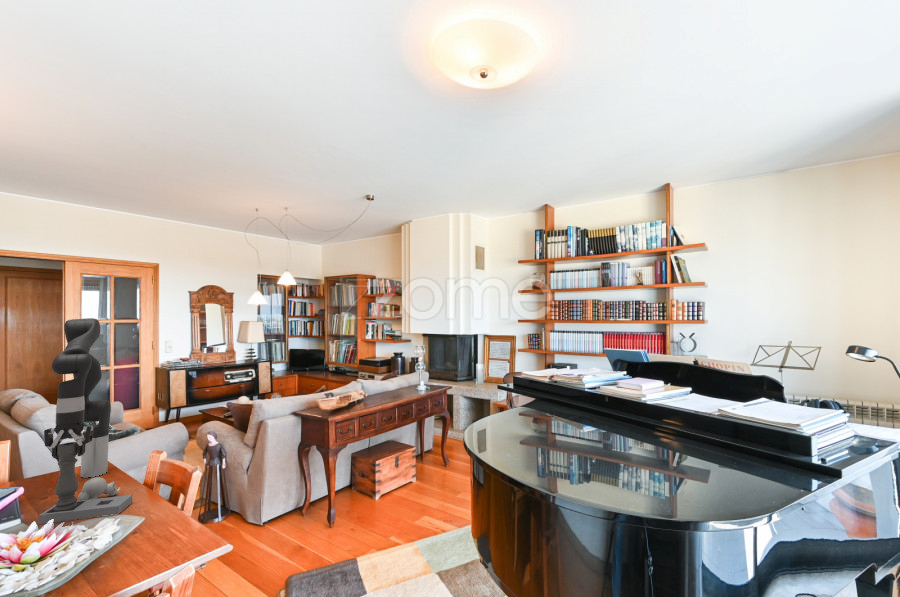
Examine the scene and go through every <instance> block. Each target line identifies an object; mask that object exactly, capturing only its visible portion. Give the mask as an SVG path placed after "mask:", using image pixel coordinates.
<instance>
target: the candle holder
mask: <svg viewBox="0 0 900 597" xmlns="http://www.w3.org/2000/svg"><path fill="white" fill-rule="evenodd" d="M78 446H79V445H78V443H77V442H76V441H69V442H64V443H60V445H58V446H57V455H58V458H59V461H58V462H57V465H58V466H59V477H58V480H57V483H56V485H55V489H54V493H55V495H56V497H57V498H58V500H57V501H56V502H55V504H54V505H56V506H57V507H55V508H54V512H62V511H71V510H74V509H75V508H77V507H78V503H77V502H76V501H78V498H77V497H76V496H75V495H76V492H77V490H78V489H79V487H80V486H79V483H78V482H79V481H78V480H77V475H76V463H77V462H78V458H76V457H77V456H78Z"/></svg>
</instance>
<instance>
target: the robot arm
mask: <svg viewBox="0 0 900 597" xmlns="http://www.w3.org/2000/svg"><path fill="white" fill-rule="evenodd" d="M63 328H64V329H63V330H64V335H65V339H66V343H67V344H66V346H65V348H64V350H63V351H61V352H60V353H59V354H58V355H56V356H55V357H54V358H53V360H52V363H51V370H52V371H53V373H54V374H58V375H72V377H73V378H72V379H68V380H64V381H63V380H62V381H60V382H59V383H58V387H57V402H56V406H55V427H53V428H52V427H49V428H47V429H45V430H44V431H43V435H44V437H43V438H44V447H47V448H48V447H49V448H51V457H52V459H57V458H59V457H58V455H57V446H58V445H60V444H62V442H63V441H64V440H67V439H70V440H71V439H73V440H74V442H77V443H78V445H79V446H78V454H77V457H80V478H81V477H83V478H82V479H89V478H88V477H91V478H95V476H96V477H100V476H103V475H106V474H107V473H108V464H109V462H108V460H109V439H110V438H109V436H110V434H109V433H110V423H111V422H110V421H111V414H112V413H111V412H112V405H111V401H110V400H108V399H105V400H104V399H103V400H90V395H91V394H92V392H93V390H94V389H95V388H96V386H97V385H98V384H99V382H101V380H102V375H103V374H102V368H101V363H100V361H99V360H98V359H97V358H96V357H95V356H94V355H92V354H91V353H90V349H91V347H92V346H93V345H94V344H95V343H96V341H97V340H98V339H99V337H100V335H101V323H100V321H99V319H97V318H93V317H91V318H88V317H87V318H74V319H68V320H66V321H65V322H64V327H63ZM90 422H98V424H97V425H96V426H95V425H94V424H91V425H85V424H84V423H90ZM54 434H56V436H55V438H54ZM106 472H107V473H106ZM102 474H103V475H102ZM99 475H100V476H99Z"/></svg>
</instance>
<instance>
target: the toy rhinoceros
mask: <svg viewBox="0 0 900 597" xmlns="http://www.w3.org/2000/svg"><path fill="white" fill-rule="evenodd" d="M116 484H117V483H116V481H115V480H113V481H112V482H109V483H107V480H106V479H105V478H103V477H100V476H96V477H91V478H89V479H88V480H87V481H86V482H84V484H83V486H82V489H81V492H80V493H79V494H78V496H77V497H76V498H77V500H79V501H80V500H89V499H98V498H99V497H100V496H101V495H103V494H104V495H108V497H115V496H116V495H117V494H118V493H119V491H121V490H120V489H121V486H119V487H118V488H117V486H116ZM114 495H115V496H114Z"/></svg>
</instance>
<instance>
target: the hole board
mask: <svg viewBox="0 0 900 597" xmlns="http://www.w3.org/2000/svg"><path fill="white" fill-rule="evenodd" d="M76 502H77V503H78V507H77V508H75V509H74V510H71V511H62V512H54V508H55V507H57V506H56V505H55V504H54V505H52V506H51V507H50V508H48V509H47V510H45V511H44V512H42V513H40V514H39V515H38V525H44V524H47V523H46V522H48V521H49V520H51V519H54V523H61V521H62V522H68V521H77V519H79V520H86V519H93V518H92V517H95V518H98V517H97V516H102V515H111V514H119V513H120V512H121V513H122V512H124V510H126V509H127V508H128V507H129V506H130V505H131V504H132V503H133V494H127V495H118V496H116V495H115V496H108V497H100V498H99V497H98V499H89V500H80V499H79V500H77V501H76ZM128 505H129V506H128ZM127 506H128V507H127ZM126 507H127V508H126ZM121 513H120V514H121Z"/></svg>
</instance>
